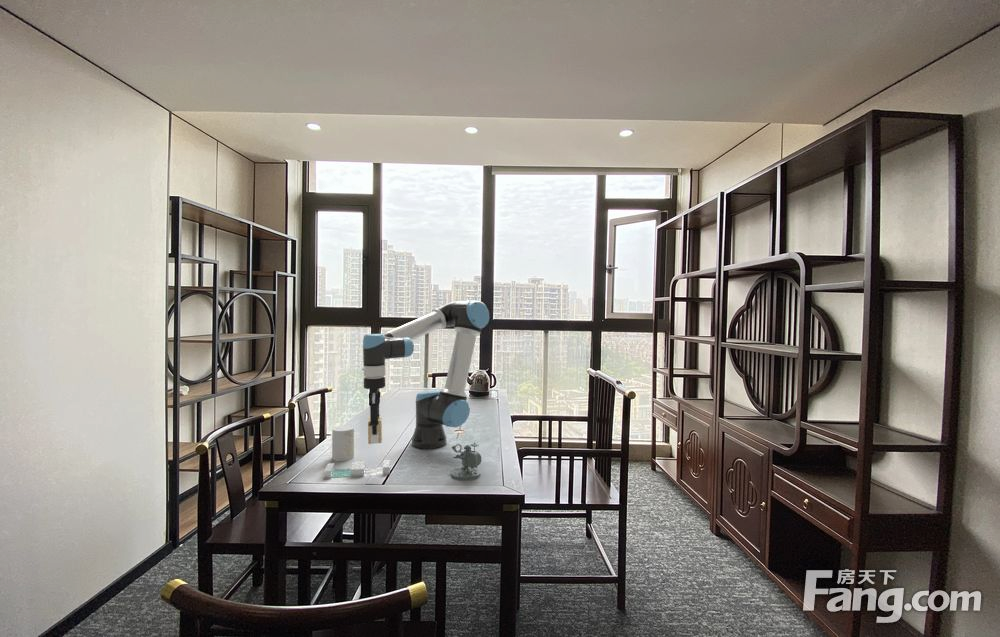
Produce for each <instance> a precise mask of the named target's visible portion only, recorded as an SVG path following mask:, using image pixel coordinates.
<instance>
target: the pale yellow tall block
mask: <svg viewBox="0 0 1000 637" xmlns="http://www.w3.org/2000/svg"><path fill="white" fill-rule="evenodd" d="M382 420H383V419H382V417H379V418H378V424H379V443H378V444H381V443H382V442H383V432H382V431H383V425H382V424H383V423H382V422H383V421H382ZM369 424H370V417H369V418H368V421H367V434H368V436H367V439H368V445H372V444H375V443H371V426H369Z"/></svg>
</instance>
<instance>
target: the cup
mask: <svg viewBox="0 0 1000 637" xmlns="http://www.w3.org/2000/svg"><path fill="white" fill-rule="evenodd" d="M331 430H332V431H331V436H332V437H331V440H332V441H331V442H332V443H331V448H332V449H331V459H332V460H333V461H335V462H345V461H350V460H352V459H354V458H355V427H354V426H353V425H338V426H334V427H333V428H332V429H331Z"/></svg>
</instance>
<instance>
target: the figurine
mask: <svg viewBox="0 0 1000 637" xmlns="http://www.w3.org/2000/svg"><path fill="white" fill-rule="evenodd" d="M457 446H459V447H460V449H459V450H457V448H456V447H457ZM479 446H480V445H479V444H478V443H476V442H474V443H471V444H470V445H468V444H467V445H464V447H462V444H459V443H457V444H455V445H452V446H451V447H450V448H451V449H452V450H453V451H454V452H455V453H457V454H456V455H455V456H453V457H452V458H453V459H459V460H461V465H462V466H461V467H455V468H454V469H452V470H451V472H450V476H451V478H452V479H454V480H457V481H473V480H476V479H479V478H480V477H481V470H480V469H479V468H478V466H479V465H481V462H482V456H481V454H480V453H479V452H478V451H476V450H475V449H476V447H479ZM472 447H473V450H472ZM462 450H463V451H462ZM458 453H460V454H458Z"/></svg>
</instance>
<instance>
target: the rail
mask: <svg viewBox="0 0 1000 637" xmlns="http://www.w3.org/2000/svg"><path fill="white" fill-rule="evenodd" d="M366 463H367V461H366V460H362V461H352V463H351V467H350V468H339V469H337V468H336V469H335V462H331V463H330V462H329V463H327V464H326V466H325V469H324V472H323V479H324V480H325V479H327V480H328V479H339V478H340V479H342V478H354V477H369V476H383V475H385V476H387V475H390V470H391V459H384V460H383V466H374V467H366V466H367V464H366Z"/></svg>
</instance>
